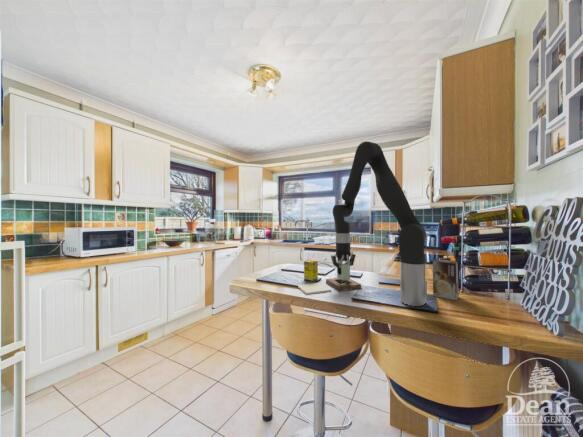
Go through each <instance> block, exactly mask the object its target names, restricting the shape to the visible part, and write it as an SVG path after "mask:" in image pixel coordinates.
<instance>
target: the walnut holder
mask: <svg viewBox="0 0 583 437" xmlns="http://www.w3.org/2000/svg"><path fill="white" fill-rule="evenodd" d="M325 283H326V284H328V285H329V286H331V287H332V288H334V289H335V290H337V291H339V292H341V291H343V292H344V291H348V290H357V289H358V290H359V289H362V283H360V282H357V281H355V280H353V279H351V278H350V280H341V279H339V278H337V277H333V278H325Z"/></svg>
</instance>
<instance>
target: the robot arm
mask: <svg viewBox="0 0 583 437" xmlns="http://www.w3.org/2000/svg"><path fill="white" fill-rule="evenodd" d="M367 165H369V166H370V168H371V170H372V172H373V173H374V177H375V185H376V186H375V187H376V191H377V192H378V195H379V196H380V198H381V200H382V202H383V204H384V205H385V207H386V208H387V209H388V211H389V212H390V213H391V214H392V215H393V216H394V218H395V219H396V222H397V223H398V225H399V229H400V230H399V233H398V254H399V257H400V260H399V261H400V263H399V264H400V266H399V267H400V270H399V271H400V284H399V286H400V303H402V302H403V303H404V304H403V303H402V304H403V305H405V304H408V305H407V306H409V305H415V306H421V305H424V304H425V303H427V304H428V282H427V280H426V257H425V240H426V239H427V233H426V229H425V228H424V227H423V226H422V224H421V223H420V221H419V220H418V218H417V217H416V215H415V214H414V212H413V210H412V208H411V206H410V204H409V201H408V199H407V197H406V194H405V191H403V190H404V189H402V186H401V185H400V183H399V181H398V180H397V178H396V176H395V175H394V173H393V170H392V169H391V167H390V166H389V164H388V161H387V159H386V157H385V154H384V152H383V149H382V148H381V146H380V144H378V143H376V142H372V141H363V142H360V143H359V145H358V146H357V147H356V150H355V154H354V158H353V162H352V165H351V168H350V173H349V176H348V179H347V182H346V184H345V187H344V188H343V191H342V193H341V199H342V201H344V202H343V203H336V204H335V205H334V206H333V208H332V217H333V219H334V223H335V233H336V234H335V254H334V255H330V258H331V261H332V265H333V267H336V268H337V269H336V270H337V271H336V273H338V274H339V275H341V264H342V262H345V263H347V264H350V267H351V266H354V263H355V260H356V253H355V254H354V253H351V250H352V249H351V233H350V232H351V230H350V229H351V228H350V223H349V222H348V221H345V218H348V217H350V216H351V215H352V214H353V212H354V209H355V208H354V207H355V200H356V198H357V196H358V194H359V191H360V189H361V185H362V176H363V173H364V170H365V168H366V166H367ZM425 305H426V304H425ZM425 305H424V306H425Z"/></svg>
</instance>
